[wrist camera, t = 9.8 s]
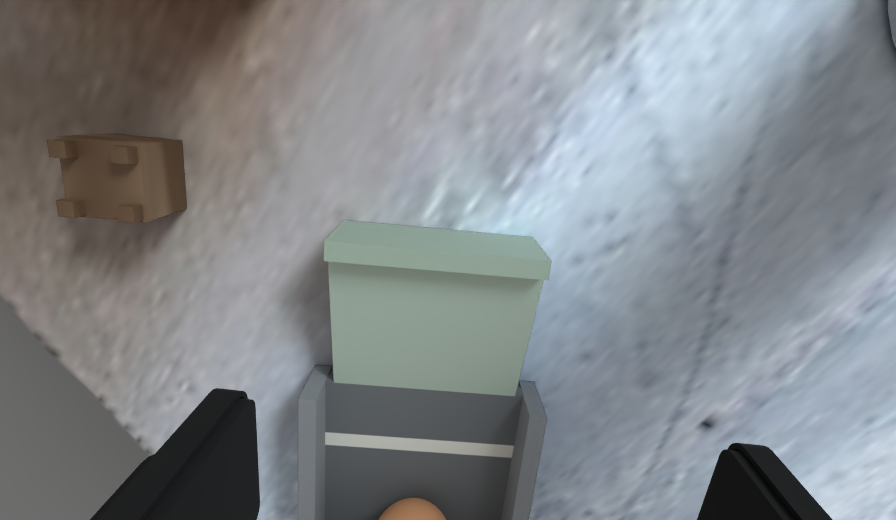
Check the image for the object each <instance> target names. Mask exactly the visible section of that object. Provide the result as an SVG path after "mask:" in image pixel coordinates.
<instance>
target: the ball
mask: <svg viewBox="0 0 896 520" xmlns="http://www.w3.org/2000/svg"><path fill="white" fill-rule="evenodd" d="M379 520H446V518H445V517H444V515H443V514H442V512H441V511H440V510H439V509H438V508H437V507H436V506H435V505H434V504H432V503H431V502H429V501H427V500H424V499H421V498H406V499H402V500H399V501H397V502H395V503H394V504H392V505H391V506H389V507H388V508H387V509H386V510H385V511H384V512H383V514H382V515H381V516H380V518H379Z"/></svg>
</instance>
